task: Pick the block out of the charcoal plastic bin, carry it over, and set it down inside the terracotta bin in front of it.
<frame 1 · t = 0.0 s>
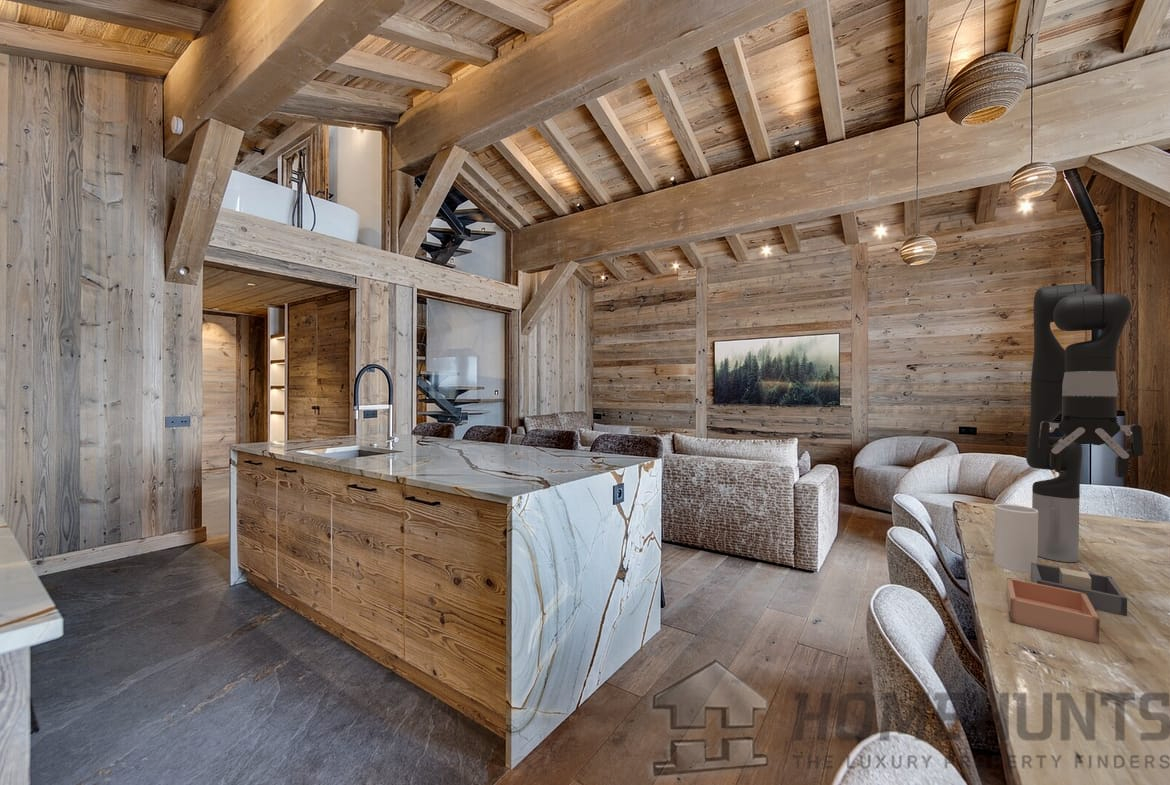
hand: (1087, 474, 94), 29 cm above the table, tool pointing down, fingers open, 8 cm apart
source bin: (1074, 599, 103), on the table
cup: (1014, 570, 119), on the table
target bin: (1048, 618, 94), on the table
block: (1074, 594, 103), point 1 cm above the table, touching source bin
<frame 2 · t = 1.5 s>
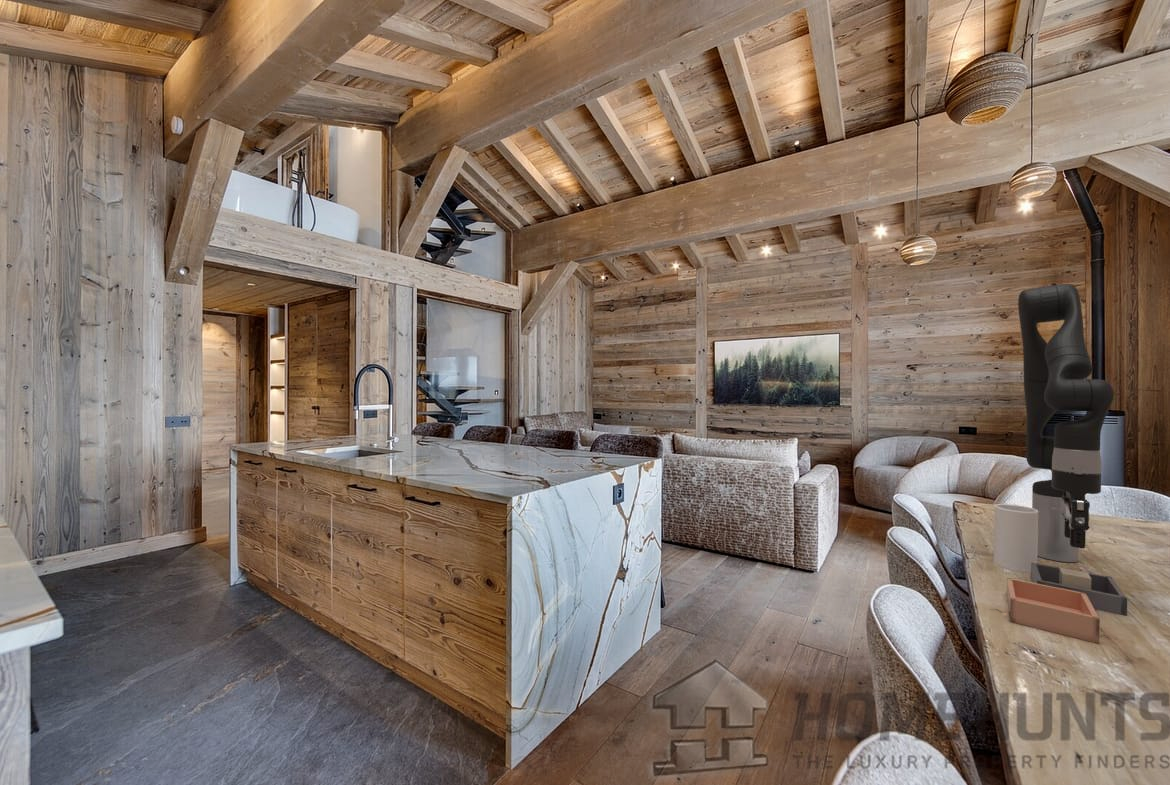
hand: (1074, 542, 103), 13 cm above the table, tool pointing down, fingers open, 8 cm apart
nothing on the table moved.
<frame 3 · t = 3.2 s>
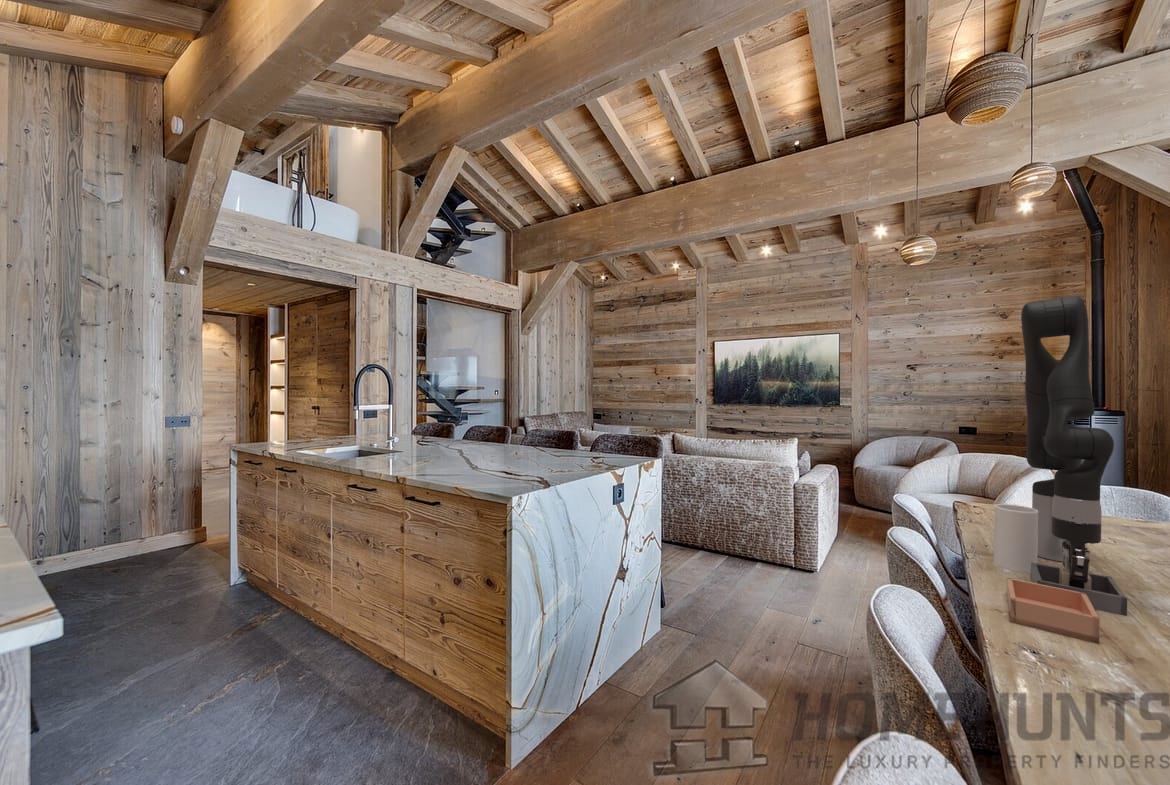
hand: (1074, 594, 103), 1 cm above the table, tool pointing down, fingers closed on block, 4 cm apart
block: (1074, 594, 103), point 1 cm above the table, touching gripper, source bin
everything else where it was.
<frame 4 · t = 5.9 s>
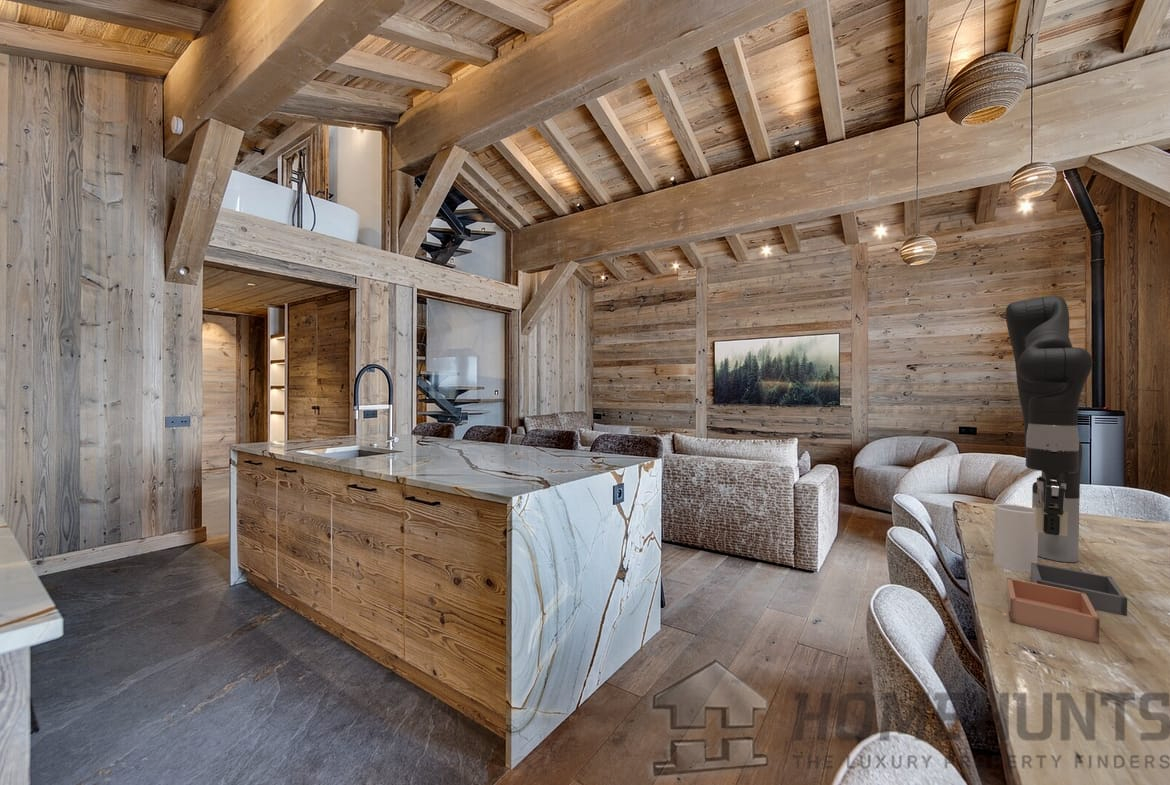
hand: (1049, 530, 94), 18 cm above the table, tool pointing down, fingers closed on block, 4 cm apart
block: (1049, 531, 94), point 18 cm above the table, touching gripper
everything else where it was.
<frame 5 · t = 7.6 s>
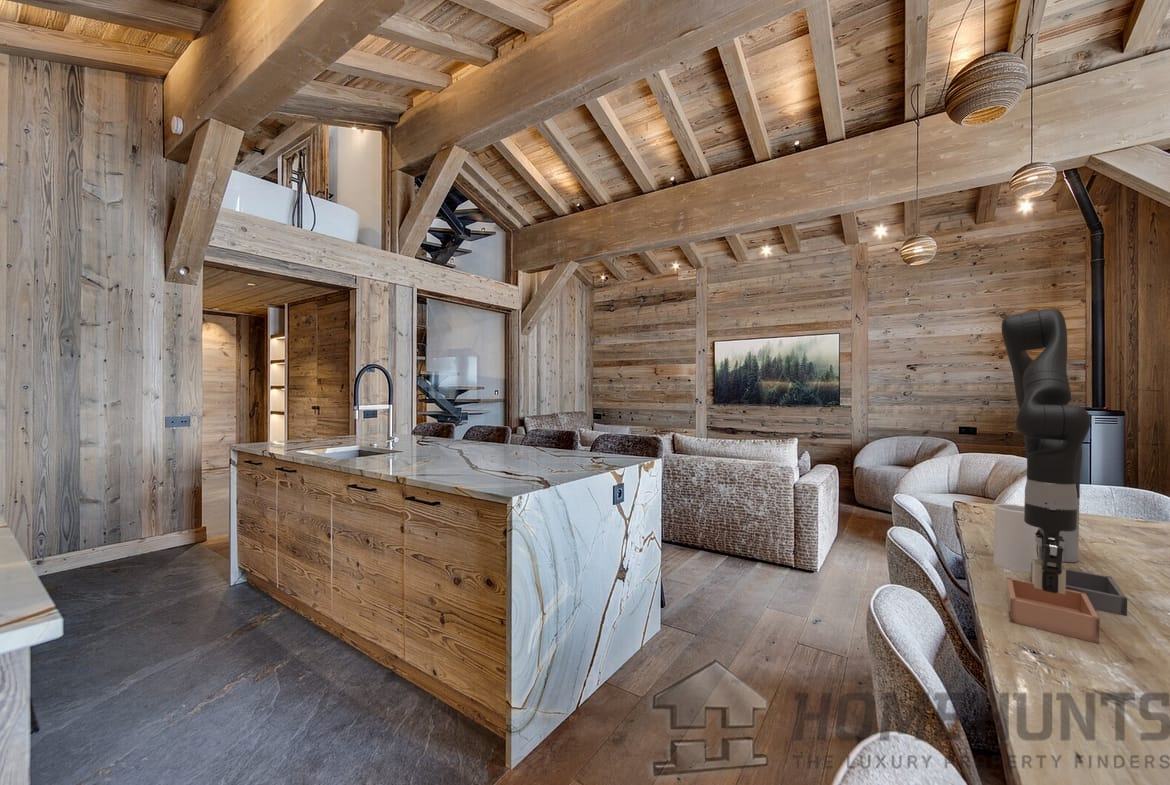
hand: (1048, 587, 94), 6 cm above the table, tool pointing down, fingers closed on block, 4 cm apart
block: (1048, 587, 94), point 6 cm above the table, touching gripper
everything else where it was.
when the fingers open (4 cm above the table, at t = 8.9 s): block drops 3 cm, resting on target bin.
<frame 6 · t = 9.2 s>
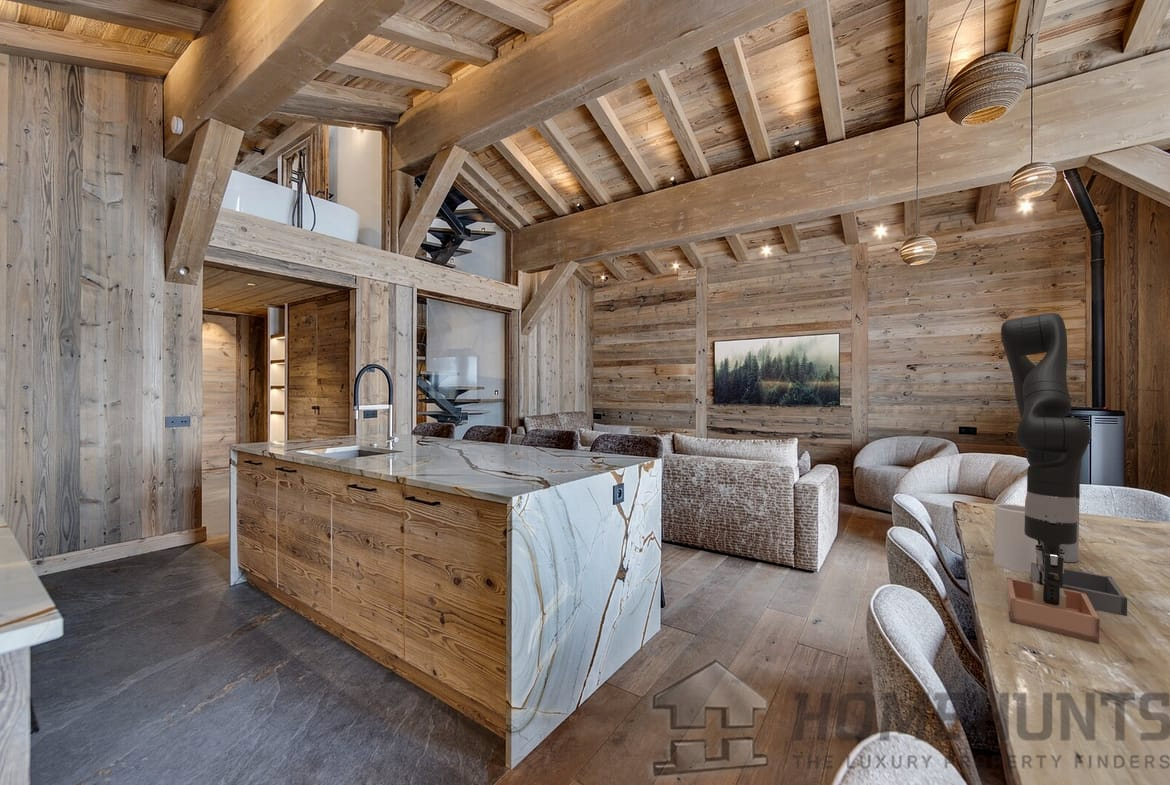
hand: (1048, 596, 94), 4 cm above the table, tool pointing down, fingers open, 7 cm apart
block: (1048, 613, 94), point 1 cm above the table, touching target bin
everything else where it was.
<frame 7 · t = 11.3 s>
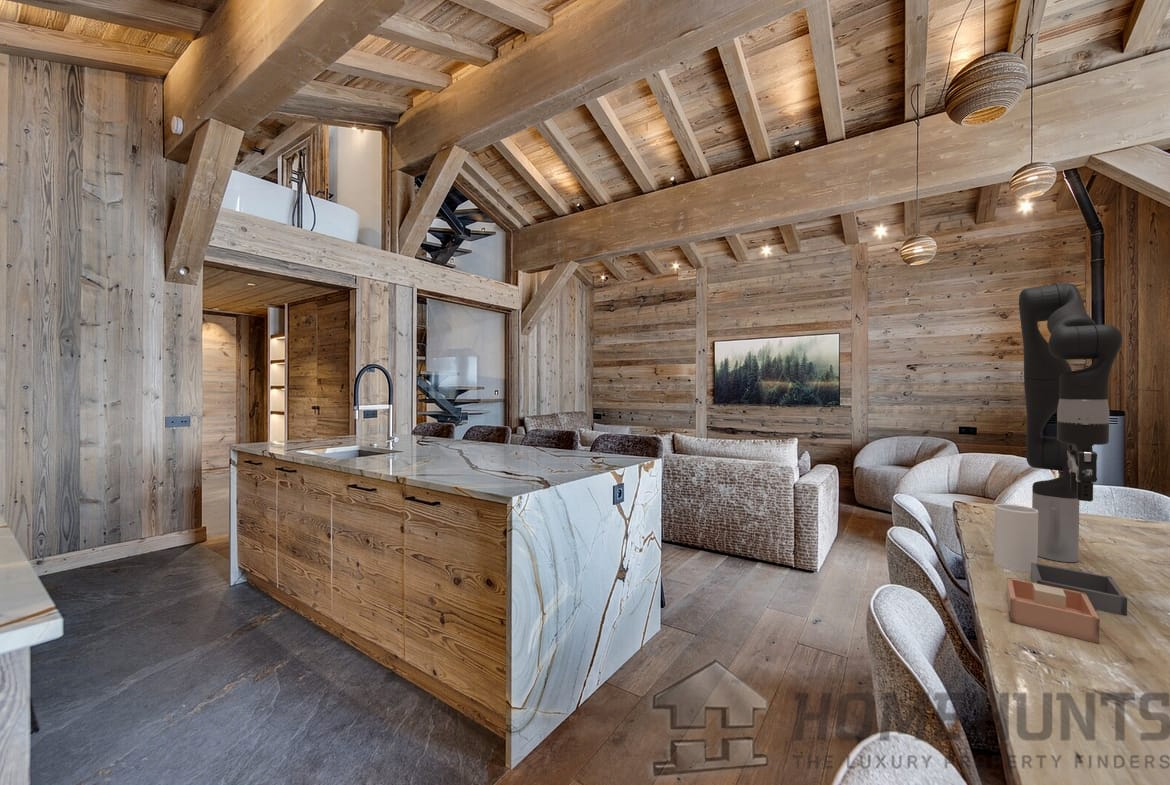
hand: (1081, 496, 99), 24 cm above the table, tool pointing down, fingers open, 8 cm apart
nothing on the table moved.
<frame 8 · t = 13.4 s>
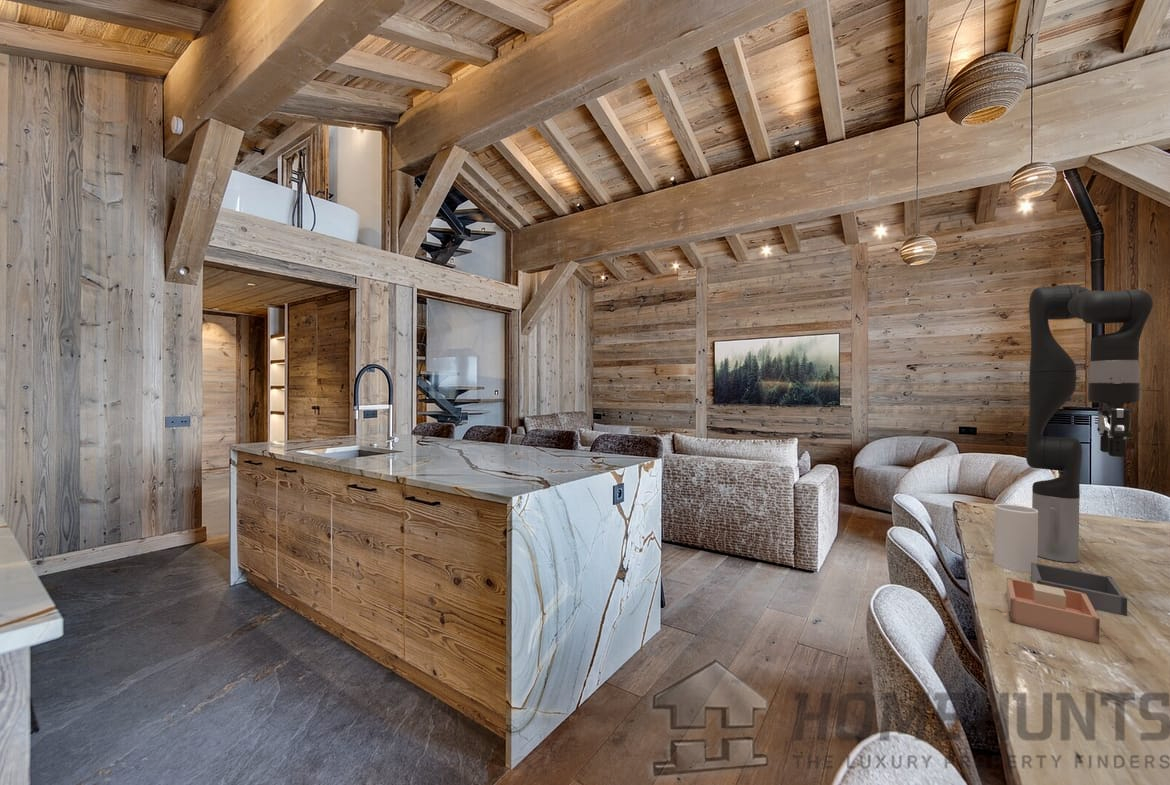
hand: (1111, 454, 103), 32 cm above the table, tool pointing down, fingers open, 8 cm apart
nothing on the table moved.
at the end: block inside the target area on the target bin (0.1 cm from its centre), point 1.0 cm above the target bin's base; the gripper is holding nothing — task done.
